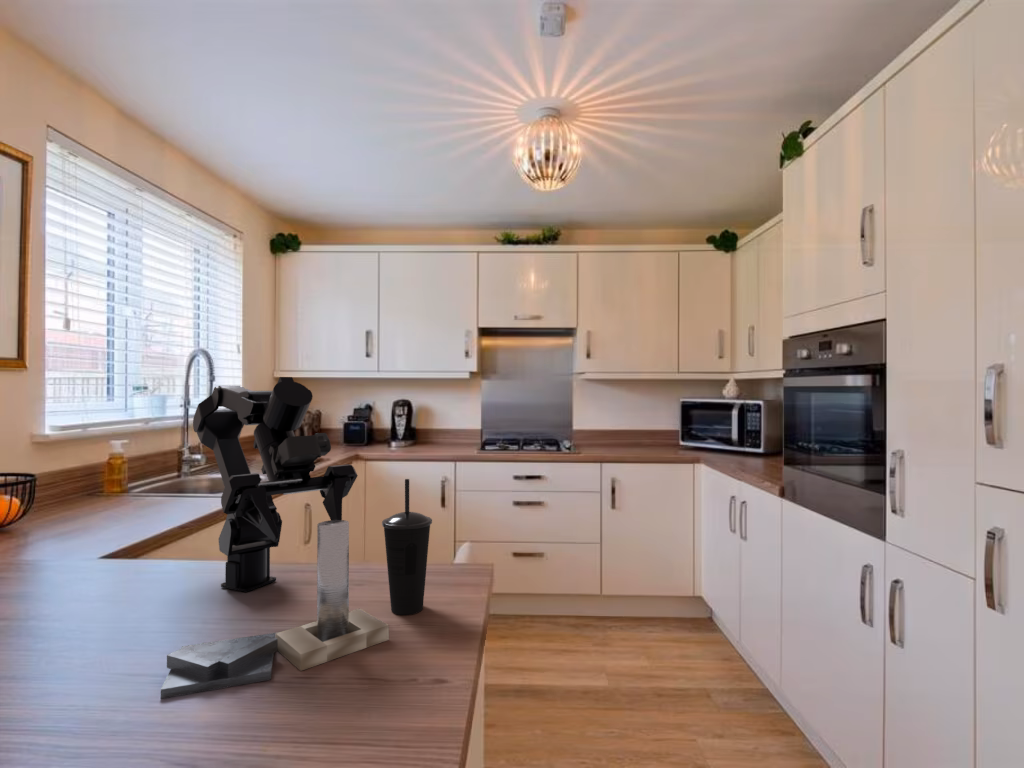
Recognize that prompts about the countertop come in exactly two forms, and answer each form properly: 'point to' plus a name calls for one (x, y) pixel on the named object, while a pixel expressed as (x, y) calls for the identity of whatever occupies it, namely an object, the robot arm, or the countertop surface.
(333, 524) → the axle
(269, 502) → the robot arm
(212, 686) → the v block
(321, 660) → the beige rectangular frame
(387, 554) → the drinking cup
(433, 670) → the countertop surface
